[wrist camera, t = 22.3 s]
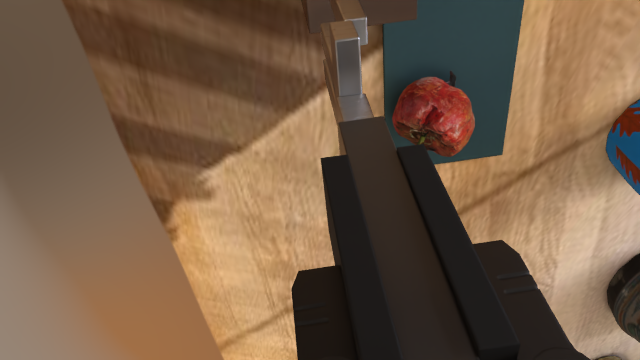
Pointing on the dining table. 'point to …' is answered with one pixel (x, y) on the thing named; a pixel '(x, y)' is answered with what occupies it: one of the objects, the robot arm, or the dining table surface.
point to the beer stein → (626, 297)
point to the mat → (457, 63)
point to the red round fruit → (435, 115)
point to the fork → (390, 204)
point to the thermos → (626, 145)
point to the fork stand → (377, 3)
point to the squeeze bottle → (610, 358)
